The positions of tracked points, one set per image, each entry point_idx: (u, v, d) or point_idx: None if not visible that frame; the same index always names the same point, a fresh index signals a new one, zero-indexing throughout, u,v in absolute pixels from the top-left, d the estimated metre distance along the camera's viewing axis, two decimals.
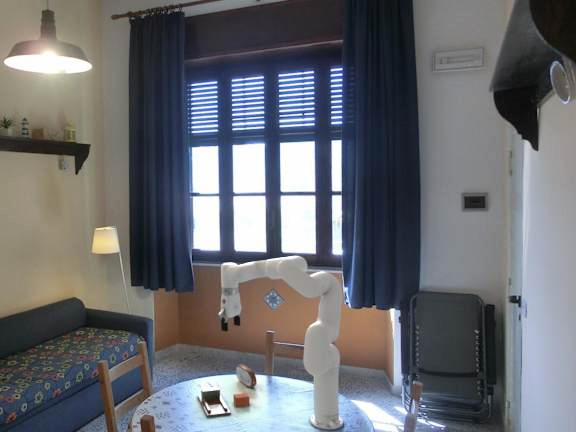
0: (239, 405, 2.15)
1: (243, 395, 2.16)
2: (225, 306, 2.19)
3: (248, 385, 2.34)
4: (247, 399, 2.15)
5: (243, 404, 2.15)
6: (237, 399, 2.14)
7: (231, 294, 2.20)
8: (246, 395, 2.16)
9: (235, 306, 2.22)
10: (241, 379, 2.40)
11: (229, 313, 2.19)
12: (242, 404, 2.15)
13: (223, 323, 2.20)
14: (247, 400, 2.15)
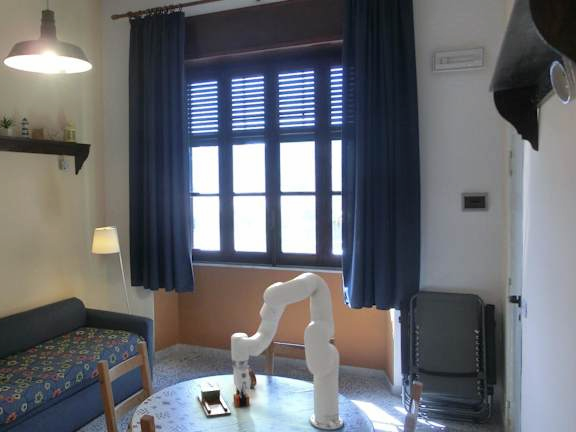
0: None
1: None
2: (246, 380, 2.11)
3: None
4: (247, 399, 2.15)
5: None
6: (237, 399, 2.14)
7: (248, 366, 2.13)
8: None
9: None
10: None
11: (249, 386, 2.12)
12: None
13: (243, 398, 2.13)
14: (247, 400, 2.15)
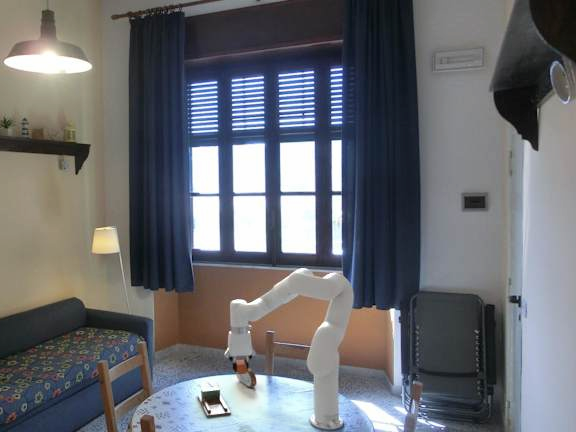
0: None
1: (240, 361, 2.16)
2: None
3: (248, 385, 2.34)
4: None
5: None
6: None
7: None
8: (240, 360, 2.18)
9: None
10: (241, 379, 2.40)
11: None
12: None
13: None
14: None
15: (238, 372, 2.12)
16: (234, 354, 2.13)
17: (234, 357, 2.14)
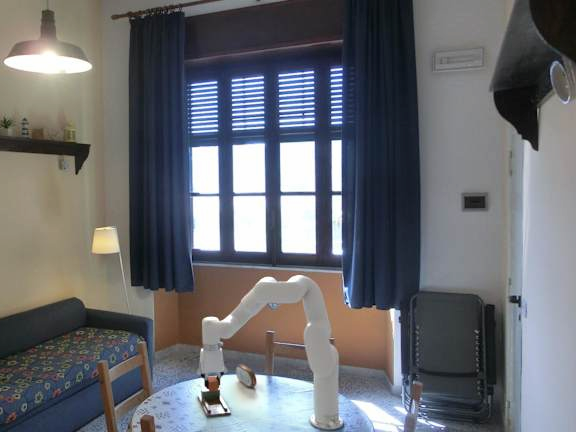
0: None
1: (212, 378, 2.17)
2: None
3: (248, 385, 2.34)
4: None
5: None
6: None
7: None
8: (212, 377, 2.19)
9: None
10: (240, 379, 2.40)
11: None
12: None
13: None
14: None
15: (210, 389, 2.13)
16: (206, 371, 2.13)
17: (206, 374, 2.14)
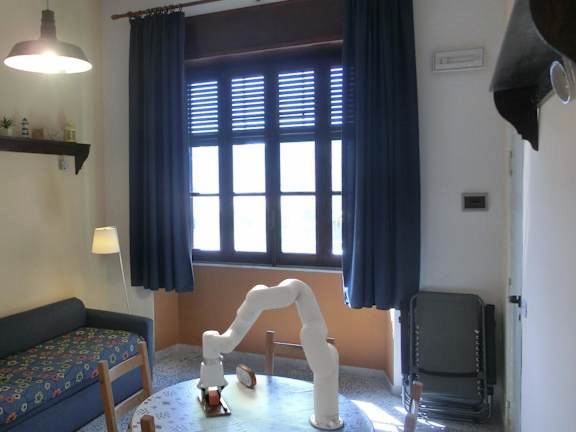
0: None
1: (213, 392, 2.18)
2: None
3: (248, 385, 2.34)
4: None
5: None
6: None
7: None
8: (213, 390, 2.19)
9: None
10: (240, 379, 2.40)
11: None
12: None
13: None
14: None
15: (211, 403, 2.14)
16: (207, 385, 2.14)
17: (207, 388, 2.15)
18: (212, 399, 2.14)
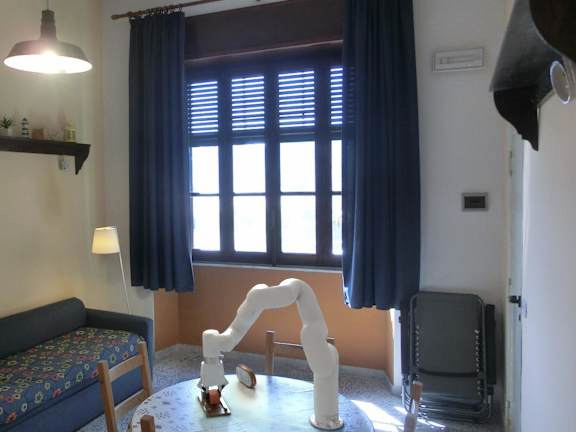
0: None
1: (213, 391, 2.18)
2: None
3: (248, 385, 2.34)
4: None
5: None
6: None
7: None
8: (213, 389, 2.19)
9: None
10: (240, 379, 2.40)
11: None
12: None
13: None
14: None
15: (211, 402, 2.14)
16: (207, 384, 2.14)
17: (207, 387, 2.15)
18: (213, 398, 2.14)
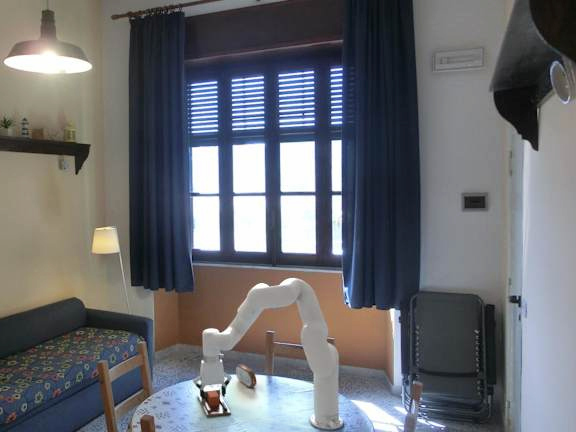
0: None
1: (213, 392, 2.18)
2: None
3: (248, 385, 2.34)
4: None
5: None
6: None
7: None
8: (213, 391, 2.19)
9: None
10: (240, 379, 2.40)
11: None
12: None
13: None
14: None
15: (211, 404, 2.14)
16: (207, 383, 2.14)
17: (203, 385, 2.14)
18: (212, 400, 2.14)
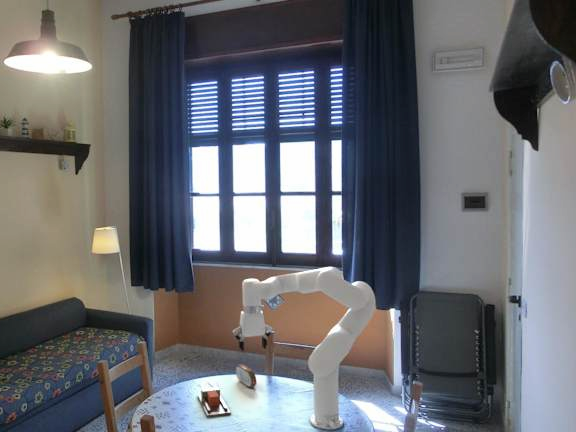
0: None
1: (213, 392, 2.18)
2: None
3: (248, 385, 2.34)
4: None
5: None
6: None
7: None
8: (213, 391, 2.19)
9: None
10: (240, 379, 2.40)
11: None
12: None
13: None
14: None
15: (211, 404, 2.14)
16: (247, 334, 2.07)
17: (243, 336, 2.07)
18: (212, 400, 2.14)
